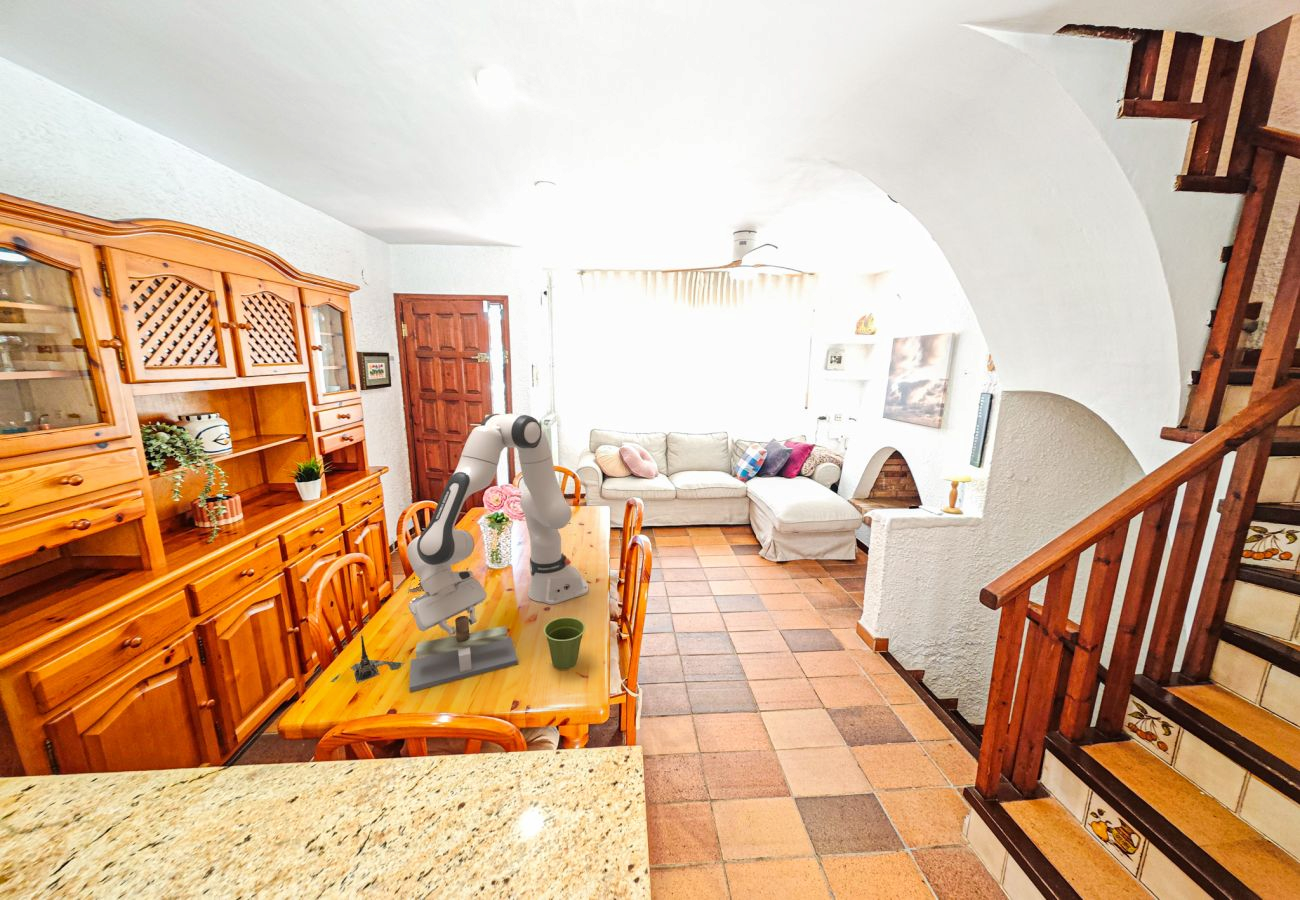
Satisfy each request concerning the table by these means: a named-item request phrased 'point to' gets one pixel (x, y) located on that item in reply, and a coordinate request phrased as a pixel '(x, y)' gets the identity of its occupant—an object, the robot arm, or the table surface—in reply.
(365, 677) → the eiffel tower figurine
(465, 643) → the balance beam
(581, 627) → the plant pot
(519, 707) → the table surface
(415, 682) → the stand
